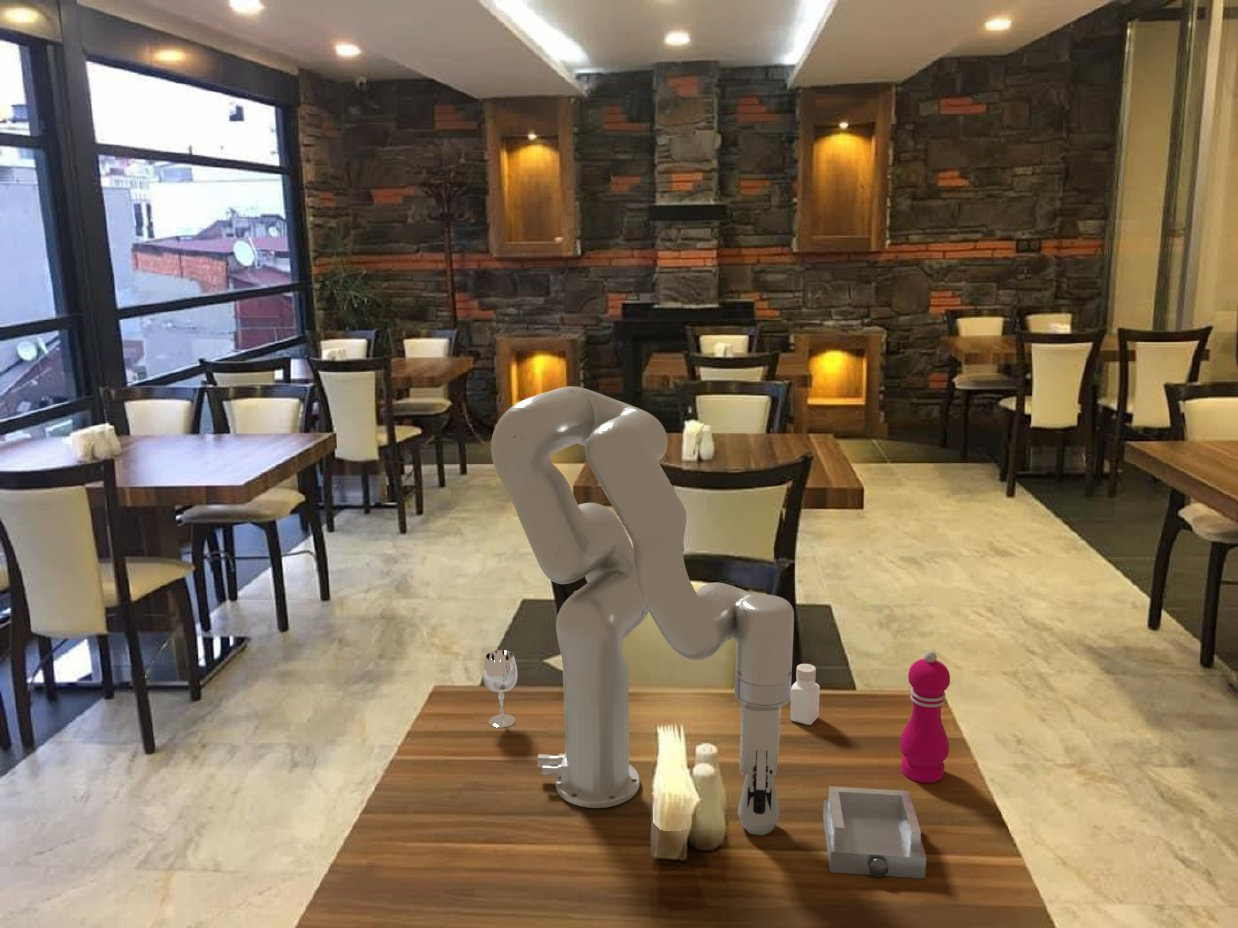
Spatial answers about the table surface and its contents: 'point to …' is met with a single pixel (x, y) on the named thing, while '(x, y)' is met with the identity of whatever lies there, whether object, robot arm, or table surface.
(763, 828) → the salt shaker
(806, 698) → the salt shaker
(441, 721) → the table surface
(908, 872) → the grey square tray
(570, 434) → the robot arm
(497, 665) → the wineglass
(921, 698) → the pepper mill
